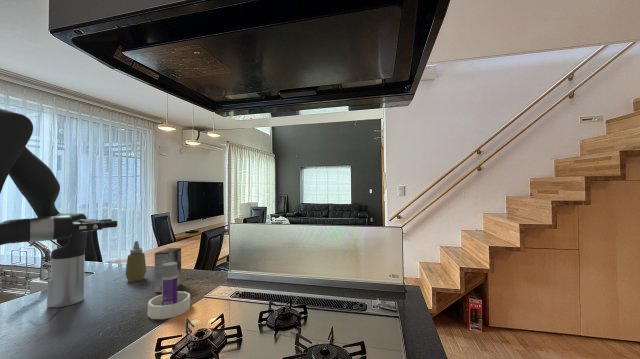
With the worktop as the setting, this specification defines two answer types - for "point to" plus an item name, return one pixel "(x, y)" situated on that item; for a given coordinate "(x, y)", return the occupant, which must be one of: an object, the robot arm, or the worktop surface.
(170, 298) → the container
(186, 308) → the bowl
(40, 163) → the robot arm
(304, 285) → the worktop surface
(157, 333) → the worktop surface
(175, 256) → the coffee box
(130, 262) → the squeeze bottle
